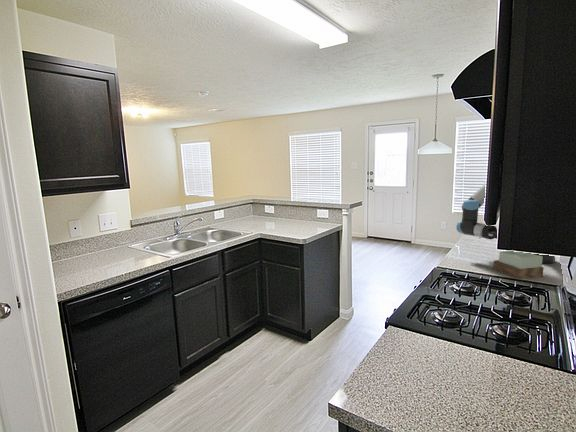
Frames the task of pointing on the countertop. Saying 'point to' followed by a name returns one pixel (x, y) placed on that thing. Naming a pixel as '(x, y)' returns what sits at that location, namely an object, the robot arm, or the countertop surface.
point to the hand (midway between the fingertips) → (532, 240)
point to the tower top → (520, 259)
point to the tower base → (518, 270)
